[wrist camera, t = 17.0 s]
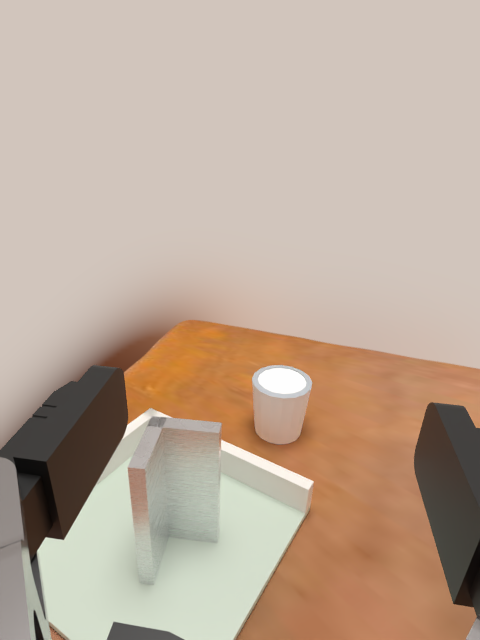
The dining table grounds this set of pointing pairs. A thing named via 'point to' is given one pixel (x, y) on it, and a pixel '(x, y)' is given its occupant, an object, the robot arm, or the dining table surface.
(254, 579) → the arena
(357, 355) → the dining table surface
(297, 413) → the white cup
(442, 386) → the dining table surface
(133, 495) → the bracket
